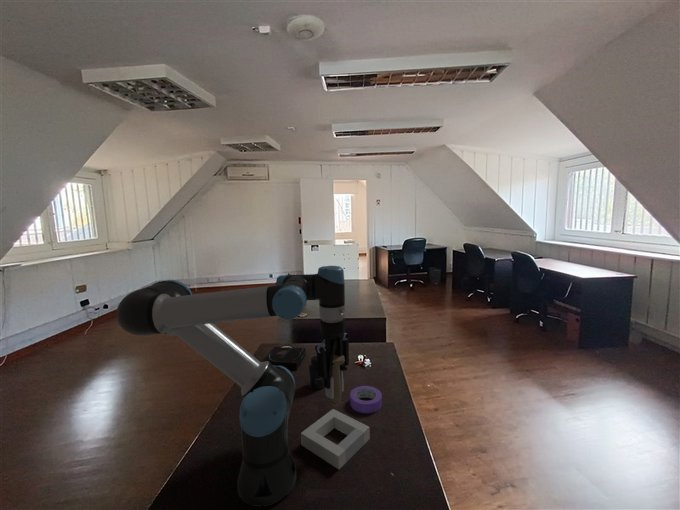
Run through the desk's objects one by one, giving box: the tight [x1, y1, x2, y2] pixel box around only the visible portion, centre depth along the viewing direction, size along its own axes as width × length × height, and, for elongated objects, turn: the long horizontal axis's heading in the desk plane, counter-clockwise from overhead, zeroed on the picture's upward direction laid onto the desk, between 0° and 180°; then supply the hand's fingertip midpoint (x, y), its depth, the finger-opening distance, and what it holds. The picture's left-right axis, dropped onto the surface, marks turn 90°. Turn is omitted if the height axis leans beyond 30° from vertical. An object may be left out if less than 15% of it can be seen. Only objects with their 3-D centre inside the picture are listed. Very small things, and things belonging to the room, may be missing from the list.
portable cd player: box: [261, 346, 307, 371], centre depth 149 cm, size 16×17×4 cm
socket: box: [300, 408, 371, 470], centre depth 94 cm, size 15×15×4 cm
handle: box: [328, 355, 345, 408], centre depth 92 cm, size 5×6×15 cm
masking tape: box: [349, 385, 383, 414], centre depth 114 cm, size 12×12×4 cm
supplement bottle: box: [308, 355, 325, 390], centre depth 126 cm, size 7×7×12 cm
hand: (334, 393), depth 93 cm, fingers closed on handle, 4 cm apart
